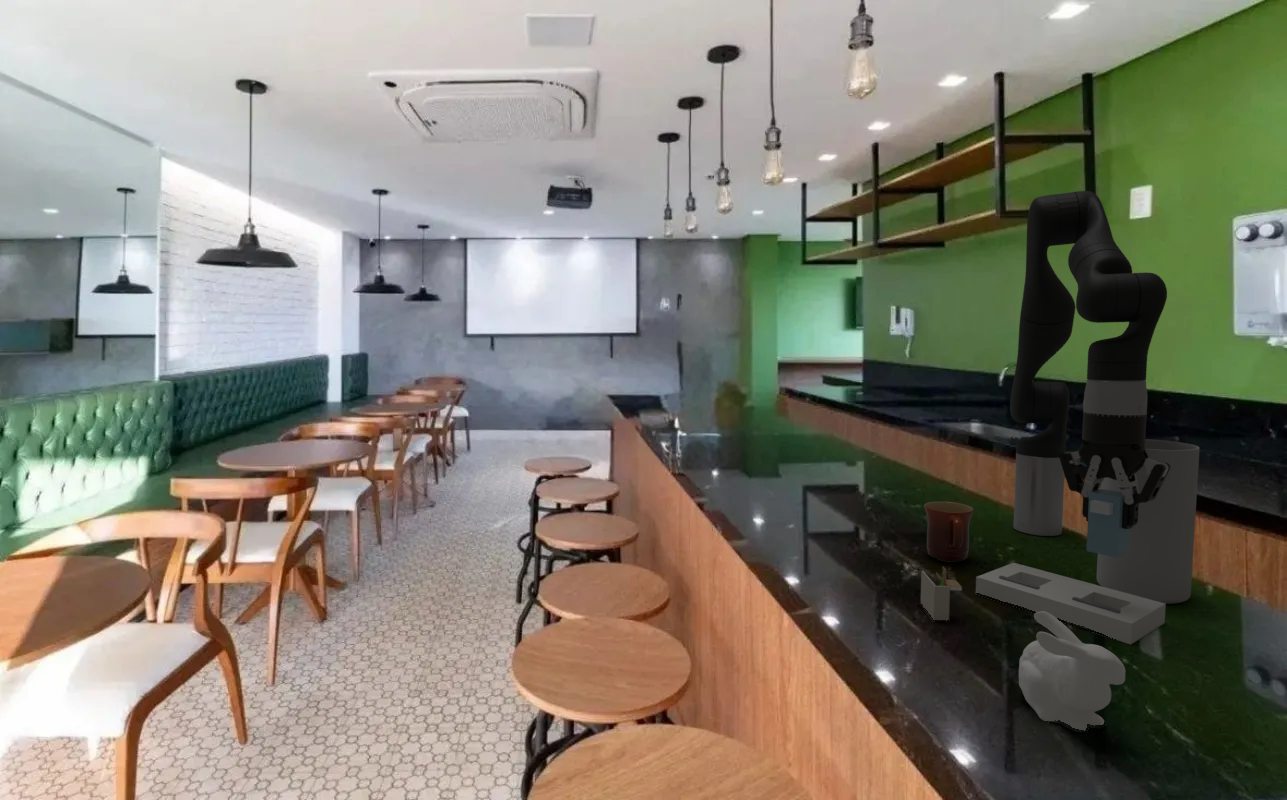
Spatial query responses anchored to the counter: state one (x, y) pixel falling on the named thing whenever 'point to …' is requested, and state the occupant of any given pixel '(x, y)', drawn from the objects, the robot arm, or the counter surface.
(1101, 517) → the plug
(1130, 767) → the counter surface
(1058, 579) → the port panel
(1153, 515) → the cylinder vase
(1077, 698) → the rabbit
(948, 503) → the mug
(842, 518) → the counter surface
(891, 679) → the counter surface
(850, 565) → the counter surface
